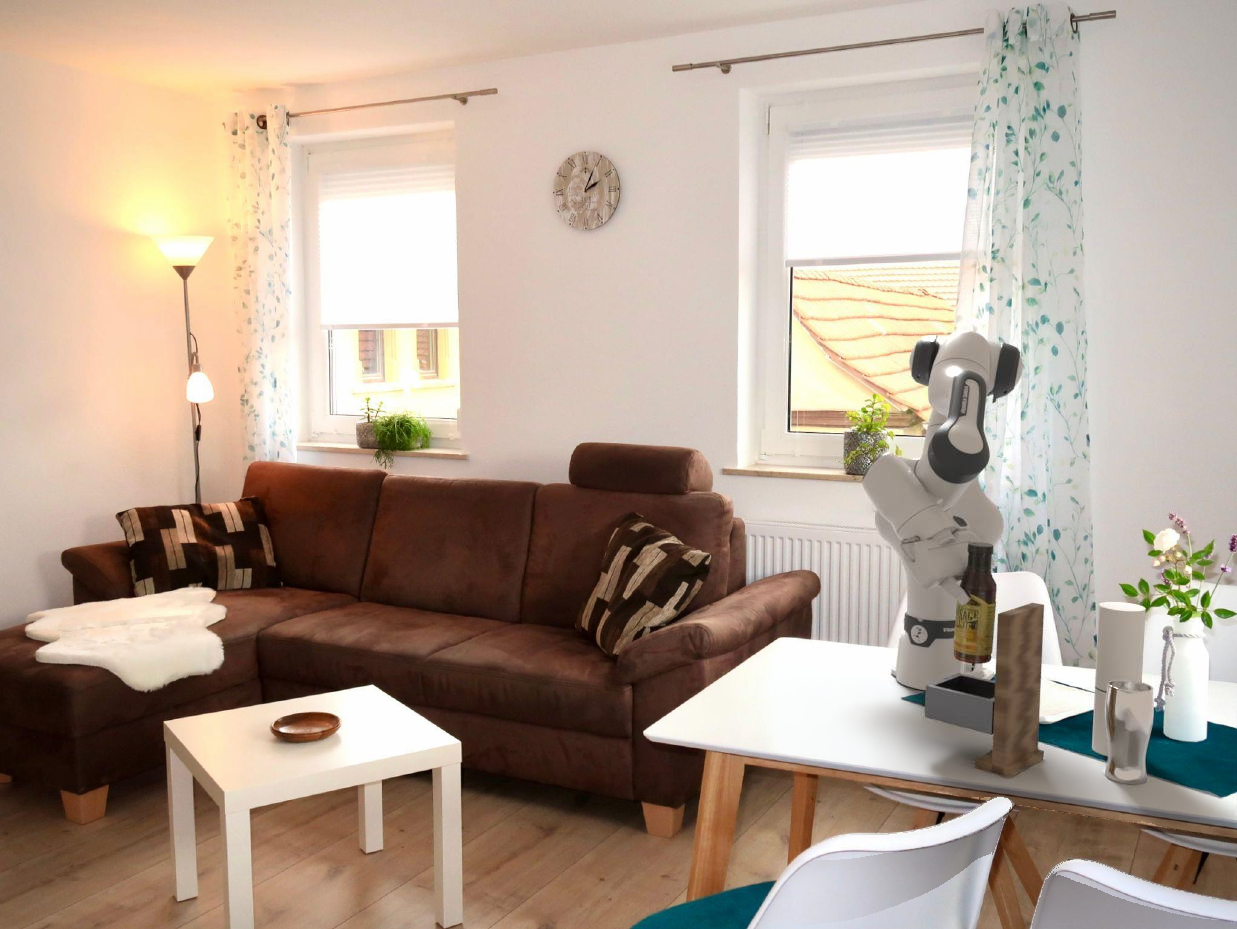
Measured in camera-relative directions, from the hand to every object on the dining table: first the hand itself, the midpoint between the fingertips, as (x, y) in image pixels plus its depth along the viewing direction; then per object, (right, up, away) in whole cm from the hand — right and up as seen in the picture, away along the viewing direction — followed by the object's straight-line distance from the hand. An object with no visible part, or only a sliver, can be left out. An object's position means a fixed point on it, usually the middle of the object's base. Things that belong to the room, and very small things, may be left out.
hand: (979, 599), depth 179 cm
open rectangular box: (0, -20, +2) cm, 20 cm away
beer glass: (+21, -28, -8) cm, 35 cm away
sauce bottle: (-1, -11, +1) cm, 11 cm away
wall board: (+4, -27, -2) cm, 27 cm away
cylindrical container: (+24, -27, +4) cm, 36 cm away
